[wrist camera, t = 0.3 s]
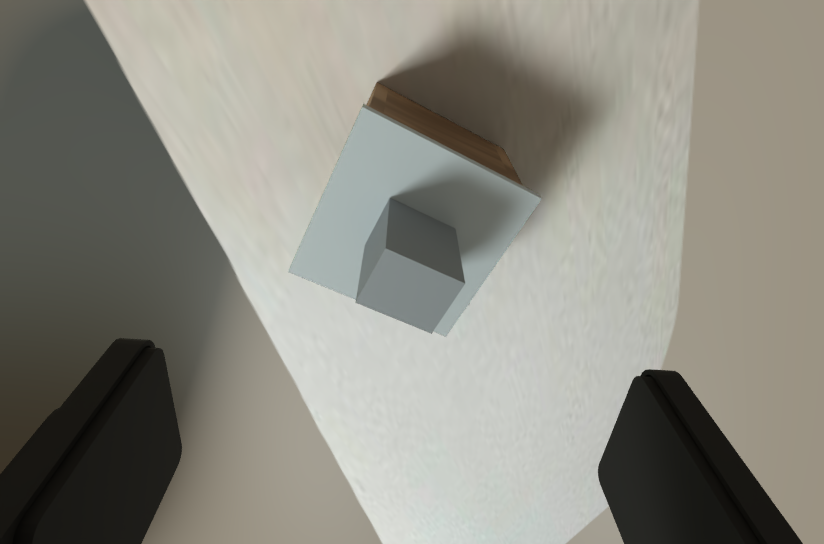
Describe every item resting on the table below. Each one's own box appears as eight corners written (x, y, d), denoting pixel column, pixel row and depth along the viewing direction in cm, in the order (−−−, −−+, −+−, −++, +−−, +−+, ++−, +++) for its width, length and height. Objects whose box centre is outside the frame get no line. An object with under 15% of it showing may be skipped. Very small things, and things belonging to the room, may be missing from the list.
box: (376, 82, 40) (367, 114, 31) (503, 149, 43) (528, 197, 34) (320, 205, 45) (299, 263, 37) (436, 257, 48) (442, 323, 39)
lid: (364, 100, 32) (350, 141, 24) (535, 188, 35) (570, 249, 27) (293, 259, 37) (263, 332, 30) (444, 322, 41) (452, 403, 33)
